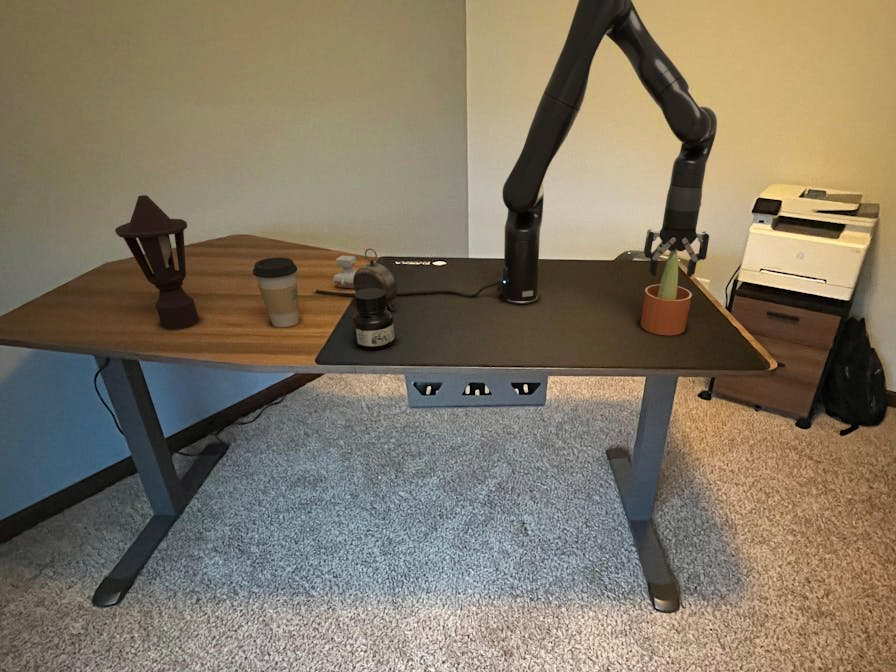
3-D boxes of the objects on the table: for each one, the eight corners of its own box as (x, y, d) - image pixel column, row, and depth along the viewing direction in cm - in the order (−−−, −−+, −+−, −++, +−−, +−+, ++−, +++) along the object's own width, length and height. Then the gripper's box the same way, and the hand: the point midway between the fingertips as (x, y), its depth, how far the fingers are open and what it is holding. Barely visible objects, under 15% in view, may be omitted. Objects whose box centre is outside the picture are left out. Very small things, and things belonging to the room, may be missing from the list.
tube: (678, 325, 141) (692, 248, 131) (664, 330, 138) (677, 251, 129) (661, 317, 145) (674, 242, 135) (647, 321, 142) (658, 245, 133)
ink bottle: (357, 354, 126) (350, 303, 120) (350, 338, 133) (343, 289, 127) (400, 347, 129) (396, 297, 123) (391, 331, 136) (387, 284, 130)
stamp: (353, 292, 157) (349, 263, 153) (331, 290, 159) (327, 261, 154) (368, 282, 165) (364, 253, 161) (347, 279, 166) (343, 251, 162)
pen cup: (643, 334, 137) (648, 299, 133) (637, 316, 147) (642, 283, 142) (689, 336, 137) (696, 301, 132) (680, 318, 146) (686, 285, 142)
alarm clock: (399, 309, 148) (394, 248, 140) (387, 317, 143) (381, 254, 135) (365, 302, 152) (358, 242, 143) (352, 309, 147) (344, 248, 139)
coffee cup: (314, 317, 143) (304, 259, 135) (289, 332, 134) (277, 272, 127) (282, 311, 145) (270, 254, 138) (255, 326, 137) (241, 266, 130)
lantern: (181, 339, 130) (141, 206, 115) (130, 330, 134) (85, 200, 119) (227, 315, 143) (196, 192, 128) (179, 307, 146) (143, 187, 131)
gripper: (711, 203, 130) (697, 271, 138) (648, 200, 131) (638, 269, 139) (719, 210, 123) (704, 282, 132) (653, 208, 124) (643, 279, 132)
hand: (671, 275), depth 135 cm, fingers open, 8 cm apart
